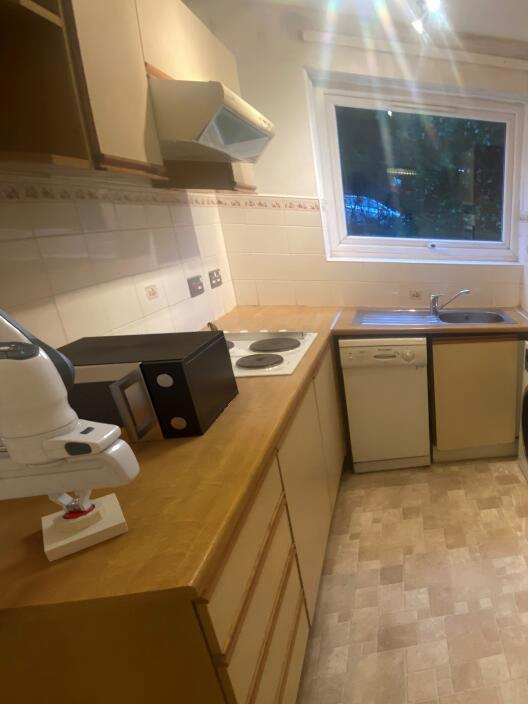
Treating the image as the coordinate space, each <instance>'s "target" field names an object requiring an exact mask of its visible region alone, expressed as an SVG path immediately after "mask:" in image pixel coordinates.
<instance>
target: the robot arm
mask: <svg viewBox="0 0 528 704" xmlns="http://www.w3.org/2000/svg"><path fill="white" fill-rule="evenodd" d="M56 349H57V348H54V347H52V346H51V345H49V344H47V343H46V342H44V341H42V340H41V339H40V338H38V337H37V336H35V335H34V334H33V333H31V332H30V331H29V330H28V329H26V328H25V327H24V326H23V325H22V324H20V323H19V322H18V321H16V319H14V318H13V317H12V316H11V315H9V314H8V313H7V312H6V311H4V310H3V309H2V308H1V307H0V440H1V441H2V444H1V445H0V501H4V500H5V501H6V500H14V499H23V498H30V497H31V498H32V497H38V496H47V497H48V499H49V500H50V501H52V502H53V503H55V504H57V505H59V506H60V507H62V510H63V509H64V511H65V513H72V512H79V511H87V510H88V509H89V508H90V507H91V502H90V500H91V499H90V496H91V494H92V491H93V490H97V489H107V488H116V487H122V486H123V487H124V486H128V485H130V484H131V483H132V482H133V481H134V480H135V478H137V476H138V475H139V474H140V472H141V471H140V464H139V462H138V460H137V458H136V455H135V453H134V451H133V450H132V448H131V446H130V445H129V443H126V442H125V441H123V440H121V439H117V438H118V437H119V436H120V435H121V430H120V428H119V427H118V426H116V425H111V424H103V423H97V422H91V421H87V420H82V419H78V416H77V414H76V412H75V411H74V410H73V409H72V408H71V407H70V405H69V403H68V400H67V394H68V393H69V392H70V391H71V389H72V387H73V384H74V381H75V369H74V366H73V364H72V363H71V362H70V360H69V359H68V358H67V357H66V356H64V355H63V354H62V353H60V352H59V351H57V350H56ZM68 493H74V496H75V497H76V496H77V497H78V498H73V497H72V496H70V495H69V494H68Z"/></svg>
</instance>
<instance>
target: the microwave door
mask: <svg viewBox="0 0 528 704" xmlns="http://www.w3.org/2000/svg"><path fill="white" fill-rule="evenodd" d="M141 364H142V362H136V363H121V364H105V365H89V366H74V369H75V381H74V384H73V387H72V389H71V391H70V392H69V393H68V394H67V400H68V403H69V405H70V407H71V408H72V409H73V410H74V411H75V412H76V414H77V416H78V419H82V420H87V421H91V422H97V423H103V424H111V425H116V426H118V427H119V428H120V430H121V435H120V436H119V437H118V438H117V439H121V440H123V441H125V442H126V443H127V444H133V443H141V442H143V443H144V442H151V441H152V442H153V441H162V440H165V439H166V436H165V433H164V430H163V427H162V424H161V421H160V418H159V415H158V412H157V409H156V406H155V403H154V400H153V397H152V394H151V391H150V388H149V386H148V383H147V380H146V377H145V374H144V371H143V368H142V365H141Z"/></svg>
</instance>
